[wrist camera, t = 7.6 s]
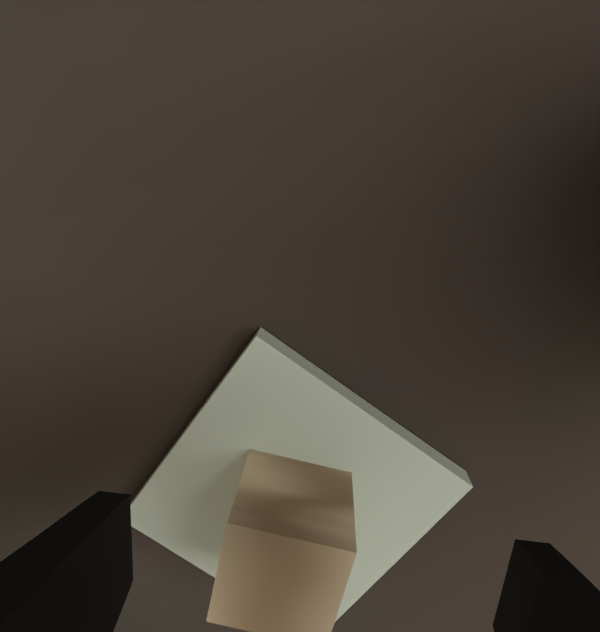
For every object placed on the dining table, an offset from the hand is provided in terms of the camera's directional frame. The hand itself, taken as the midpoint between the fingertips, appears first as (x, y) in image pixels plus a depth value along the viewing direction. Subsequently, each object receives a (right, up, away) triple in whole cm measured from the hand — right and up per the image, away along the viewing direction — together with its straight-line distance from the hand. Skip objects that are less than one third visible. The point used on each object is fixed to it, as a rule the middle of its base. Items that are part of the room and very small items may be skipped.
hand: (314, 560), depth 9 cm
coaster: (-1, -3, +11) cm, 11 cm away
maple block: (-1, -3, +10) cm, 10 cm away
